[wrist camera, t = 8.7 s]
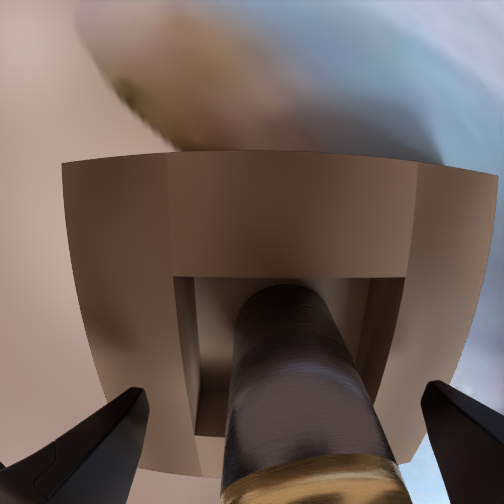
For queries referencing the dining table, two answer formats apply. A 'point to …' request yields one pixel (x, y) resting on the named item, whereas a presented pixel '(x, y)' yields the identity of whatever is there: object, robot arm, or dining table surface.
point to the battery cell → (301, 411)
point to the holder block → (271, 276)
